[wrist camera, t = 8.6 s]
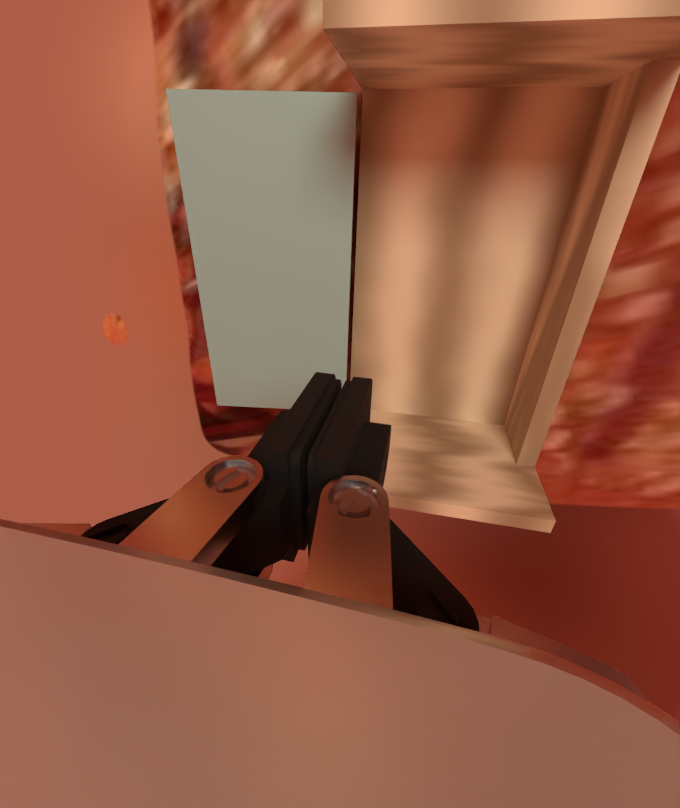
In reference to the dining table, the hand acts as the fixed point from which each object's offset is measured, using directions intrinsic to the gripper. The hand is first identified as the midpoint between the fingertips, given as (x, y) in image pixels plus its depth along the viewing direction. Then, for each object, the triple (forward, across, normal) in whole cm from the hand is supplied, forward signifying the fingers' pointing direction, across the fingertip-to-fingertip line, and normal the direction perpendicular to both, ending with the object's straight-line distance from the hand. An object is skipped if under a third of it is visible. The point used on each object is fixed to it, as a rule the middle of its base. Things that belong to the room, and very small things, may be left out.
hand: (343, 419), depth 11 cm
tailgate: (+18, +3, 0) cm, 18 cm away
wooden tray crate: (+21, -4, 0) cm, 22 cm away
